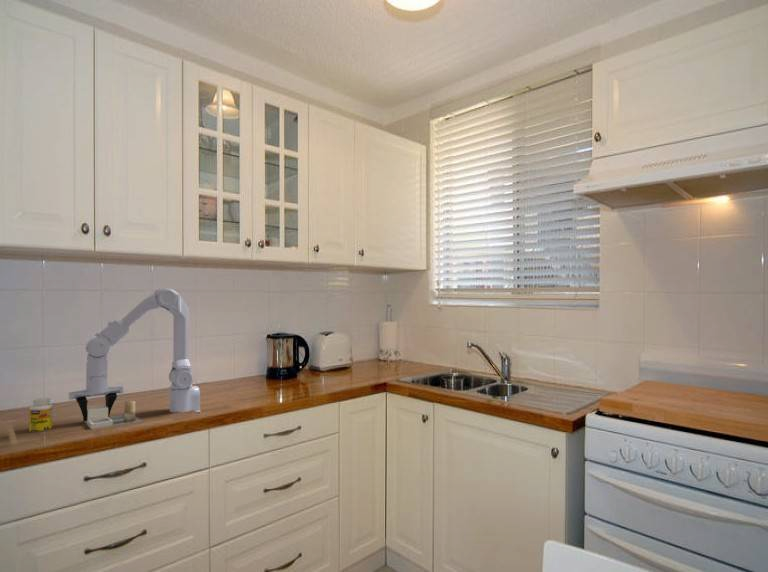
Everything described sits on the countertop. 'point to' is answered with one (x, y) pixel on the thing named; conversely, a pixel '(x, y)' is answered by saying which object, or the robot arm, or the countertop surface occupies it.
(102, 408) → the cover
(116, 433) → the countertop surface
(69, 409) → the countertop surface
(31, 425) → the supplement bottle
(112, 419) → the board
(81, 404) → the robot arm
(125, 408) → the loose pin
